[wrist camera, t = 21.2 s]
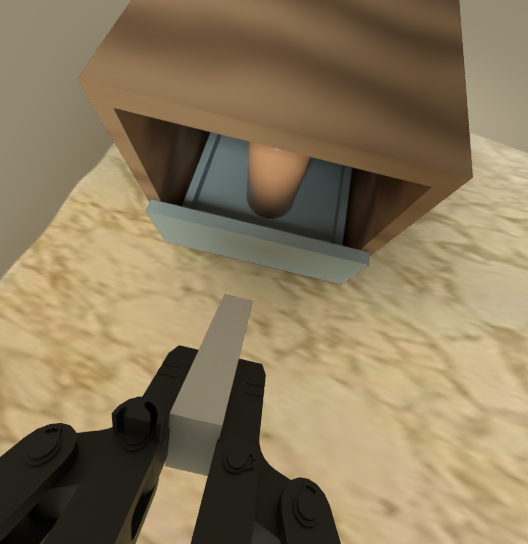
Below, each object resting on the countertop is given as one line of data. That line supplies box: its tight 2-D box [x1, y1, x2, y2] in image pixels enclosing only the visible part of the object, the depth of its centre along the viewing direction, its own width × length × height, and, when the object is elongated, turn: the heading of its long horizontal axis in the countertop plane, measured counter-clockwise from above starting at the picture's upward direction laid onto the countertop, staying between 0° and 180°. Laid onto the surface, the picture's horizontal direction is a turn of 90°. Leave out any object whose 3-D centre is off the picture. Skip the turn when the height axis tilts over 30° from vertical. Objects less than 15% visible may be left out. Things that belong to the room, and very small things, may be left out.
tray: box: [146, 132, 370, 284], centre depth 27 cm, size 22×19×6 cm
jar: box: [246, 142, 310, 219], centre depth 22 cm, size 5×5×11 cm
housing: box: [77, 0, 473, 256], centre depth 24 cm, size 22×20×16 cm
